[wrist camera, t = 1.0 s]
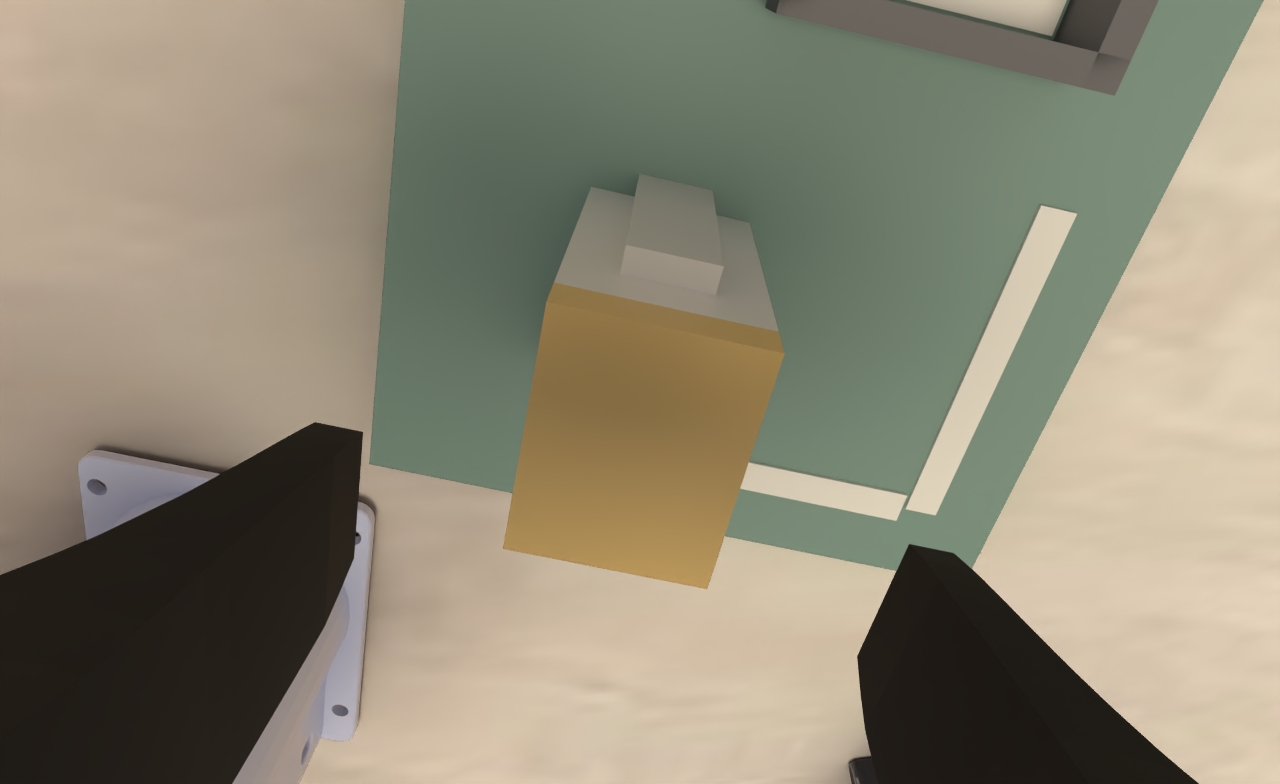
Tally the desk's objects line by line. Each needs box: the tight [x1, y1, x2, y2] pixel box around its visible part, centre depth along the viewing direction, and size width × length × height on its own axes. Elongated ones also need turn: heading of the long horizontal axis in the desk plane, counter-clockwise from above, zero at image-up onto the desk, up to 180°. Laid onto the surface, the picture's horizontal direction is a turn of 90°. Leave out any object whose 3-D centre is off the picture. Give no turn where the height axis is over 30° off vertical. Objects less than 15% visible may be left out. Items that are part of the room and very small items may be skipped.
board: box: [369, 0, 1263, 571], centre depth 16 cm, size 22×16×3 cm
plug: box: [503, 174, 785, 589], centre depth 16 cm, size 5×4×7 cm
